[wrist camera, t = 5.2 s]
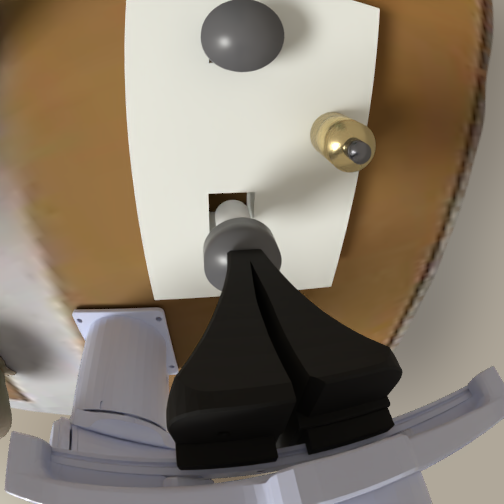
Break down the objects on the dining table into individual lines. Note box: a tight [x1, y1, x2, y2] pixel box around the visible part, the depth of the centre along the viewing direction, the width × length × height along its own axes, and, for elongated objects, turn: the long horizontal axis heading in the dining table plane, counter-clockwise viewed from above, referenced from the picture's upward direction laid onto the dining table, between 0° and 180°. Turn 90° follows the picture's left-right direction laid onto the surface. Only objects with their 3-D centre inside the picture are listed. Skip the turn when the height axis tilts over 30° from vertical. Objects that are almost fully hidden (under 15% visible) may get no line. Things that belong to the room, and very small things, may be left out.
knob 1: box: [201, 0, 284, 72], centre depth 11 cm, size 3×3×4 cm
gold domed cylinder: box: [310, 112, 376, 173], centre depth 13 cm, size 2×2×3 cm
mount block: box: [125, 0, 380, 300], centre depth 15 cm, size 18×12×2 cm, turn 177°
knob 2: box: [203, 200, 282, 291], centre depth 14 cm, size 3×3×4 cm
